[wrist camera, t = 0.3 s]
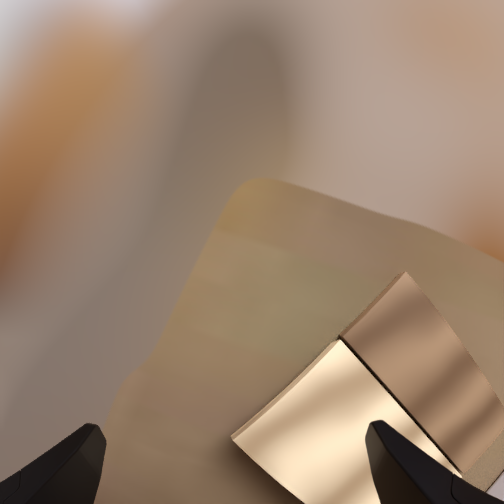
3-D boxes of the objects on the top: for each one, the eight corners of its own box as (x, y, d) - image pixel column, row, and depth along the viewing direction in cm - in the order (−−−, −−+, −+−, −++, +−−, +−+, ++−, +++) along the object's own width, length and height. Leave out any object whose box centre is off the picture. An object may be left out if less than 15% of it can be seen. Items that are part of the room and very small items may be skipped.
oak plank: (451, 474, 17) (462, 476, 16) (383, 553, 13) (392, 559, 12) (331, 342, 21) (340, 339, 20) (230, 435, 17) (232, 440, 16)
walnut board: (502, 416, 18) (510, 419, 16) (456, 468, 17) (463, 474, 16) (398, 273, 22) (405, 271, 20) (338, 334, 21) (342, 336, 20)
